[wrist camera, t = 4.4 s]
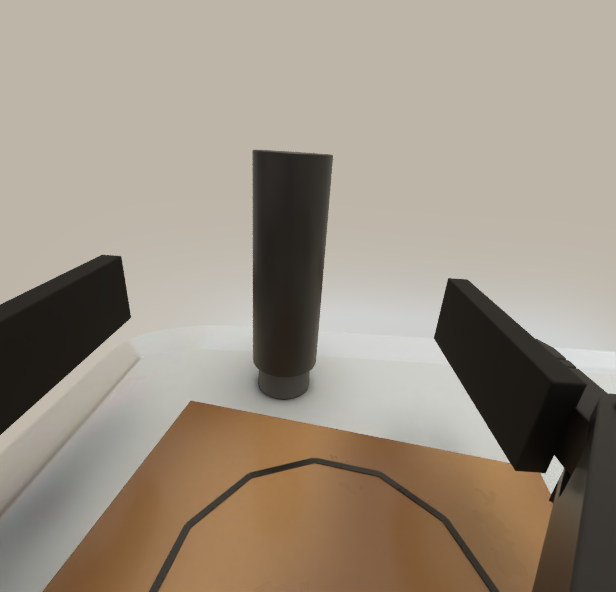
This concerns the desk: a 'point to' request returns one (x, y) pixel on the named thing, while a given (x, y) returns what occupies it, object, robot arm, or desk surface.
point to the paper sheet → (310, 515)
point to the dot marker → (288, 265)
